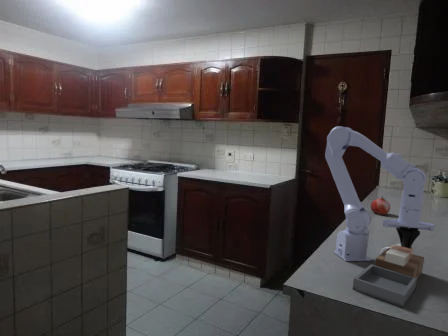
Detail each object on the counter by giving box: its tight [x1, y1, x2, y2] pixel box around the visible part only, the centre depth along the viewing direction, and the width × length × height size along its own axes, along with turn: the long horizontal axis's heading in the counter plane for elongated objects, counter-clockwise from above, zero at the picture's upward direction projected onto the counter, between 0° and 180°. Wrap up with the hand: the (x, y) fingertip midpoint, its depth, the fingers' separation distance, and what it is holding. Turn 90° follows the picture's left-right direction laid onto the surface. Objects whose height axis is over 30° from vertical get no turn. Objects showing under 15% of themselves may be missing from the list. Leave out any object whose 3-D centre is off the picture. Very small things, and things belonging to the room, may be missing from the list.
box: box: [352, 264, 418, 308], centre depth 88 cm, size 14×12×3 cm
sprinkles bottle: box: [379, 243, 414, 255], centre depth 112 cm, size 5×5×13 cm
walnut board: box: [374, 248, 425, 280], centre depth 99 cm, size 14×10×5 cm
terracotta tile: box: [391, 244, 414, 261], centre depth 99 cm, size 5×5×2 cm
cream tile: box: [385, 249, 409, 266], centre depth 96 cm, size 5×5×2 cm
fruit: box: [370, 195, 391, 216], centre depth 177 cm, size 9×10×10 cm
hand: (404, 251), depth 102 cm, fingers closed
